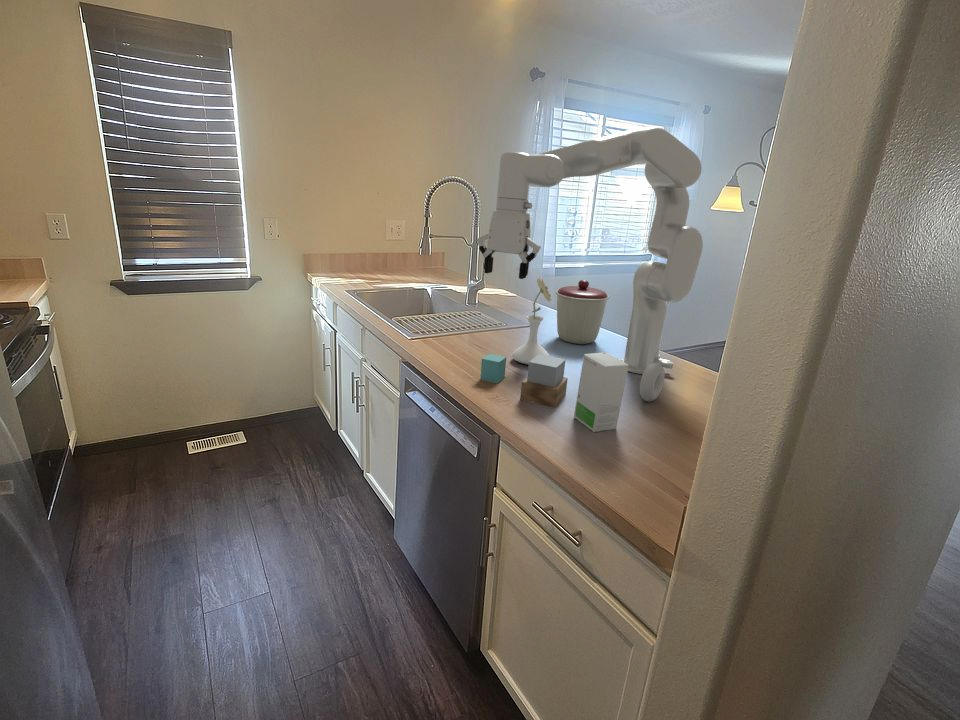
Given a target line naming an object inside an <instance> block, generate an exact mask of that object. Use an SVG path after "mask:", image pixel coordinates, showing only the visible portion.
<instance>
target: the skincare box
mask: <svg viewBox="0 0 960 720" xmlns="http://www.w3.org/2000/svg"><path fill="white" fill-rule="evenodd" d="M581 365H582V366H581V371H580V376H579V377H580V378H579V384H578V389H577V396H576V400H575V407H574V414H573V417H574V419H576V420H577V421H578V422H580V423H581V424H582V425H584V426H585V427H587V428H588V429H589V430H592V432H593V433H598V432H605V431H610V430H611V429H612V430H616V429H617V426H618V422H619V416H620V411H621V407H622V406H621V405H622V400H623V397H624V392H625V386H626V382H627V377H628V372H629V371H628V367H629V365H628V364H626V363H624V362H623V361H621V360H620V358H619V357H616V356H614V355H612V354H610V353H608V352H606V351H605V352H593V353H592V352H591V353H584V354H583V360H582V364H581ZM604 430H605V431H604Z"/></svg>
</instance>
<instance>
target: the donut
mask: <svg viewBox="0 0 960 720" xmlns="http://www.w3.org/2000/svg"><path fill="white" fill-rule="evenodd" d="M664 368H665V367H663V366H661V365H660V364H659V363H652V364H650V365H649V366H648V367H647V368H646V369H645V371H644V373H643V374H641V375H642V376H641V378H640V383H639V395H640V396H641V398H642V399H643V400H644V401H645V402H653V401H655V400H657V398H658V397H659V396H660V393H661V391H662V389H663V385H664V381H665V376H666V375H665V369H664Z"/></svg>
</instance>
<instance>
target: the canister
mask: <svg viewBox="0 0 960 720" xmlns="http://www.w3.org/2000/svg"><path fill="white" fill-rule="evenodd" d="M554 293H555V294H556V327H557V328H556V331H557V336H558V337H559V339H561V340H562V341H564V342H566V343H570V344H575V345H588V344H591V343H593V342H595V341H596V339H597V338H598V335H599V333H600V329H601V325H602V322H603V317H604V314H605V309H606V307H607V301H608V300H609V299H610V295H609V294H607V293H606V292H605V291H604V290H602V289H599V288H595V287H591V286H590V282H589V281H588V280H586V279H581V280H579V281H578V284H577V285H567V286H563V287H560V288H559V289H556V290H555V292H554Z"/></svg>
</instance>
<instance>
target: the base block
mask: <svg viewBox="0 0 960 720" xmlns="http://www.w3.org/2000/svg"><path fill="white" fill-rule="evenodd" d="M520 385H521V388H520V397H519V398H520V399H519V400H520V401H524V402H529V403H531V404H537V405H542V406H546V407H551V408H554V409H556V408H557V406H558V405H559V404H560V403H561V402H562V401H563V400H564V398H566V395H567V388H568V386H567V385H568V377H563V379H562V380H561V381H560V382H559V383H558V384H557V385H556V386H555V387H551V386H547V385H542V384H538V383H533V382H529V381H527V377H525V378H524V379H523V380H522V381H521V384H520Z"/></svg>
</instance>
